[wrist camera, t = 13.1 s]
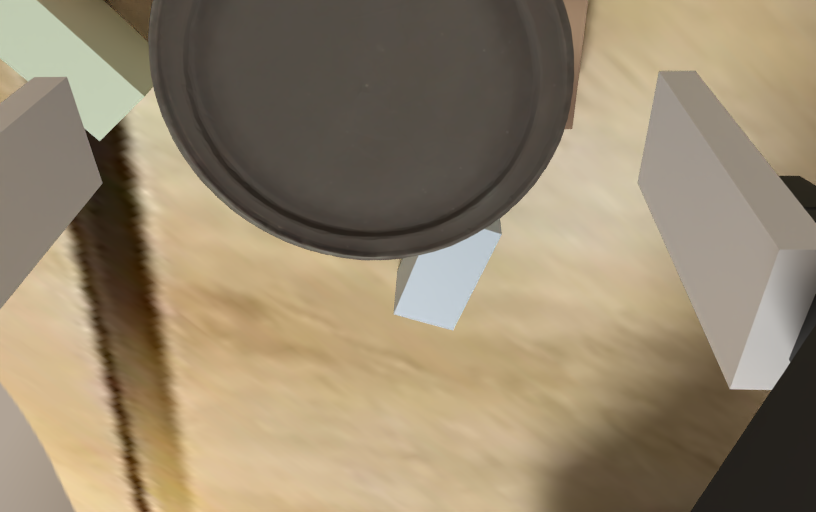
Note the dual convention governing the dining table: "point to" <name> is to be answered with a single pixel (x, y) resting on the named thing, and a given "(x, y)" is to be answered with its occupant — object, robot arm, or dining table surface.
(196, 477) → the dining table surface
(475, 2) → the coffee can
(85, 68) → the sage brick
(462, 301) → the blue grey brick
